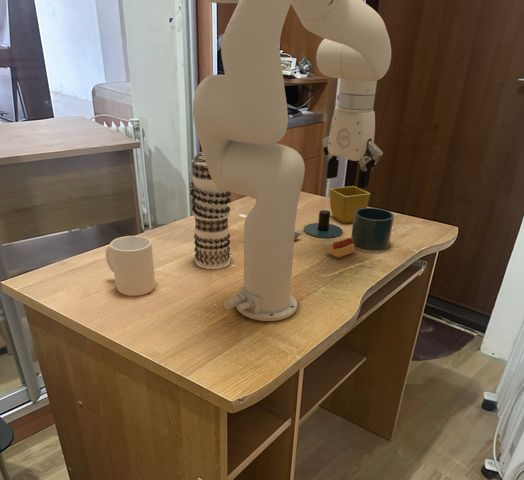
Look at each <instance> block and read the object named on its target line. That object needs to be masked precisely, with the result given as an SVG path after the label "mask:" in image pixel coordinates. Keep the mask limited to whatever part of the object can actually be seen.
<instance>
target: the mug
mask: <svg viewBox="0 0 524 480" xmlns="http://www.w3.org/2000/svg"><path fill="white" fill-rule="evenodd" d="M152 245H153V244H152V241H151V239H149V238H148V237H145V236H141V235H125V236H121V237H117V238H115V239H113V240H112V241H110V243H109V245H108V246H107V247H106V250H105V260H106V264H107V266H108V267H109V270H110V271H111V272H112V273H113V274H114V281H115V287H116V290H117V292H118V293H120V294H122V295H124V296H130V297H138V296H139V297H140V296H144V295H147V294H149V293H151V292H152V291H154V289H155V287H156V278H155V277H156V275H155V266H154V256H153V247H152Z"/></svg>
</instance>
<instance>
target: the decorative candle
mask: <svg viewBox="0 0 524 480" xmlns="http://www.w3.org/2000/svg"><path fill="white" fill-rule="evenodd" d="M190 162H191V163H192V175H191V178H192V179H191V182H190V183H189V188H190V195H191V197H192V198H191V205H192V206H191V207H192V208H191V210H192V215H193V217H194V221H195V222H194V224H195V226H194V234H193V238H194V242H193V244H194V245H195V247H194V249H193V251H194V252H195V253H194V258H195V260H194V262H195V265H197V266H198V267H200V268H202V269H207V270H218V269H222V268H226V267H228V266H229V265H230V263H231V259H230V258H231V253H230V252H231V247H230V244H231V240H230V238H231V234H230V227H229V217H230V216H231V207H230V206H228V204H230V203H231V198H230V196H231V195H232V193H231V192H228V191H225V190H222V189H220V188H219V187H217V186H216V185H215V183H214V182H213V180H212V178H211V176H210V174H209V171H208V168H207V164H206V161H205V158H204V155H203V151H200V152H197V153H196V155H195V156H194V158H192V159H191V160H190Z"/></svg>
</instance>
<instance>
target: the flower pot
mask: <svg viewBox="0 0 524 480" xmlns="http://www.w3.org/2000/svg"><path fill="white" fill-rule="evenodd" d="M370 197H371V192H369V191H366V190H364V189H362V188H361V189H359V188H357V186H355V185H350V186H340V187H333V188H332V187H331V188H329V206H330V212H331V213H332V216H333V218H334V219H335V220H337V221H339V222H341V223H342V224H351V223H353V220H354V213H355V211H356V210H357V209H361V208H368V204H369V201H370Z"/></svg>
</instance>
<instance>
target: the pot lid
mask: <svg viewBox="0 0 524 480" xmlns="http://www.w3.org/2000/svg"><path fill="white" fill-rule="evenodd" d="M330 218H331V210H326V209H322V210H320V211H319V213H318V222H313V223H308V224H305V226H304V227H303V233H305V234H306V235H307V236H310V237H313V238H318V239H335V238H339V237H340V236H342V234H343V229H342V228H341V227H340V226H338V225H336V224H332V223H330V220H331V219H330Z"/></svg>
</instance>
